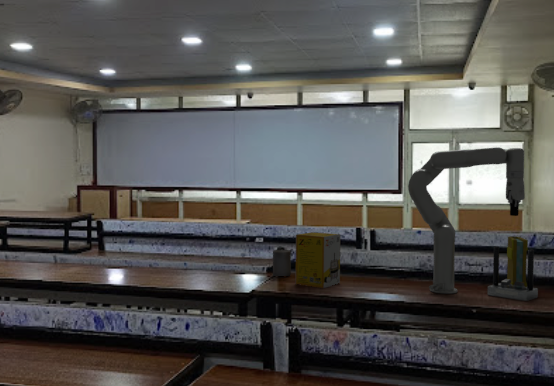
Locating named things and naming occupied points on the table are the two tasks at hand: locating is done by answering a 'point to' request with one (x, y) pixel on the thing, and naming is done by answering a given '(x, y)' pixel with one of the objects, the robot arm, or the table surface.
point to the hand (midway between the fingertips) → (514, 215)
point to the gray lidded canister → (281, 263)
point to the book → (517, 259)
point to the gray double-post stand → (510, 289)
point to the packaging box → (318, 259)
